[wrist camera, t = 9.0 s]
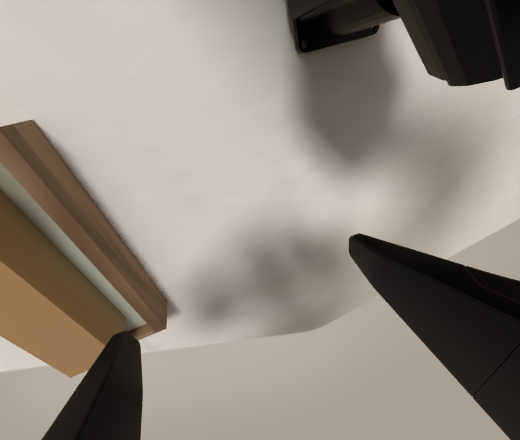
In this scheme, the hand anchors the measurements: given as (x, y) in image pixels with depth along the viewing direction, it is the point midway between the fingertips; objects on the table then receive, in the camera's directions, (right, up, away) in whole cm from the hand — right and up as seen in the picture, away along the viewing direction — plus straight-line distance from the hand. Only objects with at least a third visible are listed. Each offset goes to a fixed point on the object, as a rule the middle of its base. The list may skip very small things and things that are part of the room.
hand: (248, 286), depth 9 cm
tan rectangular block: (-15, -1, +7) cm, 16 cm away
